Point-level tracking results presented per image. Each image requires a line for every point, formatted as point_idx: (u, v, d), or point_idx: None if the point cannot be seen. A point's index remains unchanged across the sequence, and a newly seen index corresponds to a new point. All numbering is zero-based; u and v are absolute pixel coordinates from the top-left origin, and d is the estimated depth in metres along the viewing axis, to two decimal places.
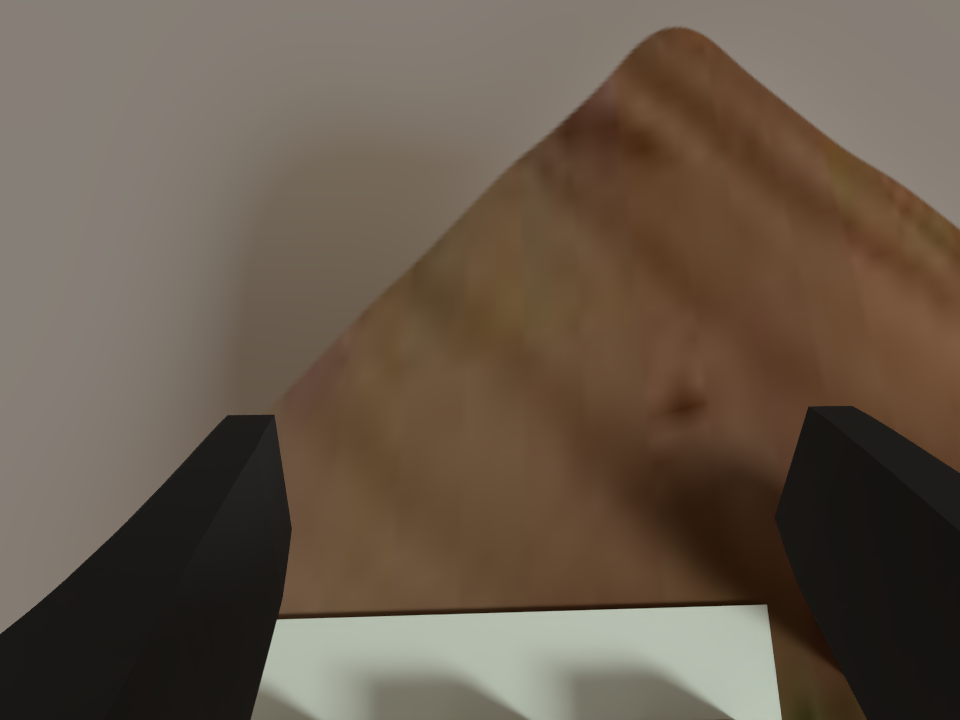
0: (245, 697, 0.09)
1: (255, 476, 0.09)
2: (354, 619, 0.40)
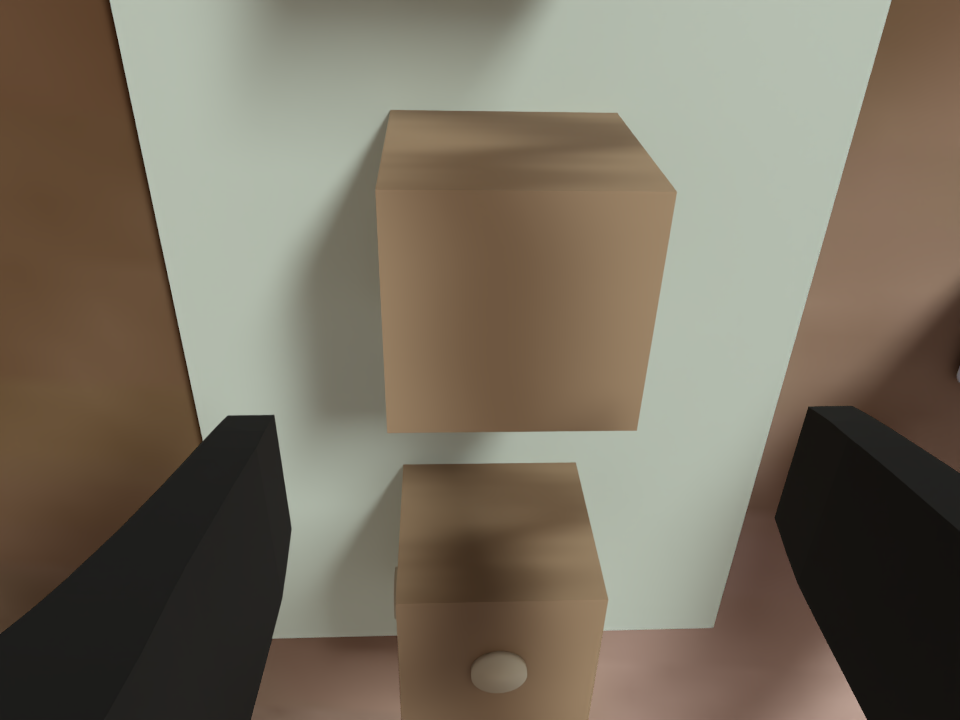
0: (245, 697, 0.09)
1: (255, 476, 0.09)
2: None
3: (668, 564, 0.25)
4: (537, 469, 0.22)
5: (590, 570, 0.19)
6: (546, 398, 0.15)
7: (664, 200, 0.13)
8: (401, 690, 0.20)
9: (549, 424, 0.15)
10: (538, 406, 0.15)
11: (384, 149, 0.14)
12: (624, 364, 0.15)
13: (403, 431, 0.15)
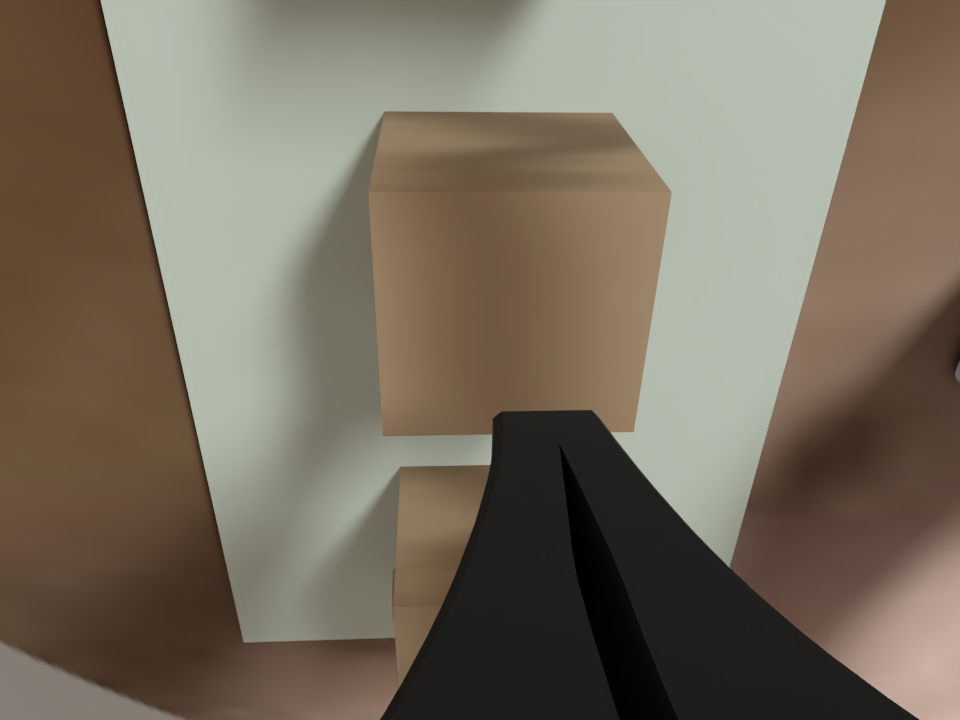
0: None
1: None
2: (205, 453, 0.21)
3: None
4: None
5: None
6: (542, 400, 0.15)
7: (659, 201, 0.13)
8: None
9: None
10: (535, 407, 0.15)
11: (378, 151, 0.14)
12: (620, 365, 0.15)
13: (399, 434, 0.15)
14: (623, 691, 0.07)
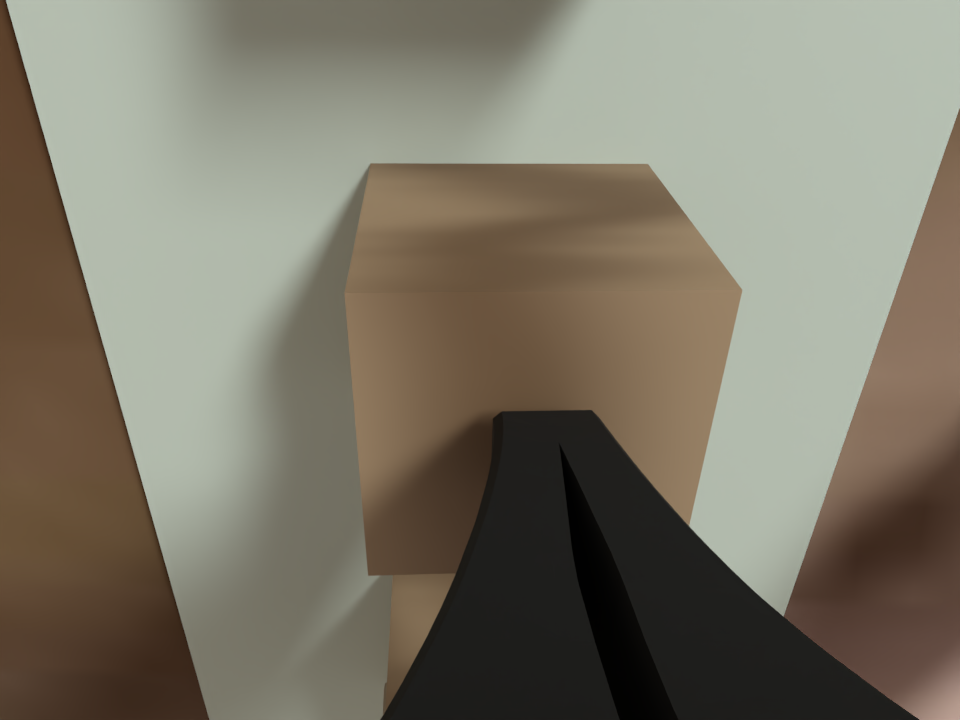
0: None
1: None
2: (165, 548, 0.18)
3: None
4: None
5: None
6: None
7: (725, 300, 0.10)
8: None
9: None
10: None
11: (360, 225, 0.11)
12: (666, 493, 0.12)
13: (388, 573, 0.12)
14: (623, 691, 0.07)
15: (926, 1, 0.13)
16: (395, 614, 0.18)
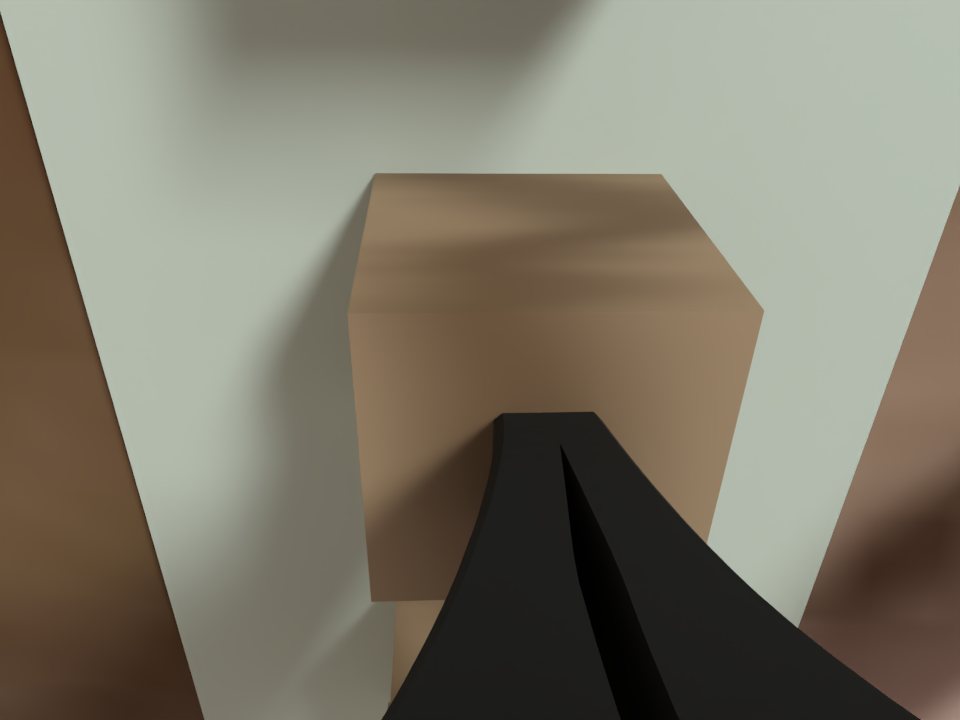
0: None
1: None
2: (164, 564, 0.18)
3: None
4: None
5: None
6: None
7: (746, 321, 0.09)
8: None
9: None
10: None
11: (364, 240, 0.11)
12: None
13: (392, 599, 0.12)
14: (624, 691, 0.07)
15: (952, 6, 0.12)
16: (399, 633, 0.17)
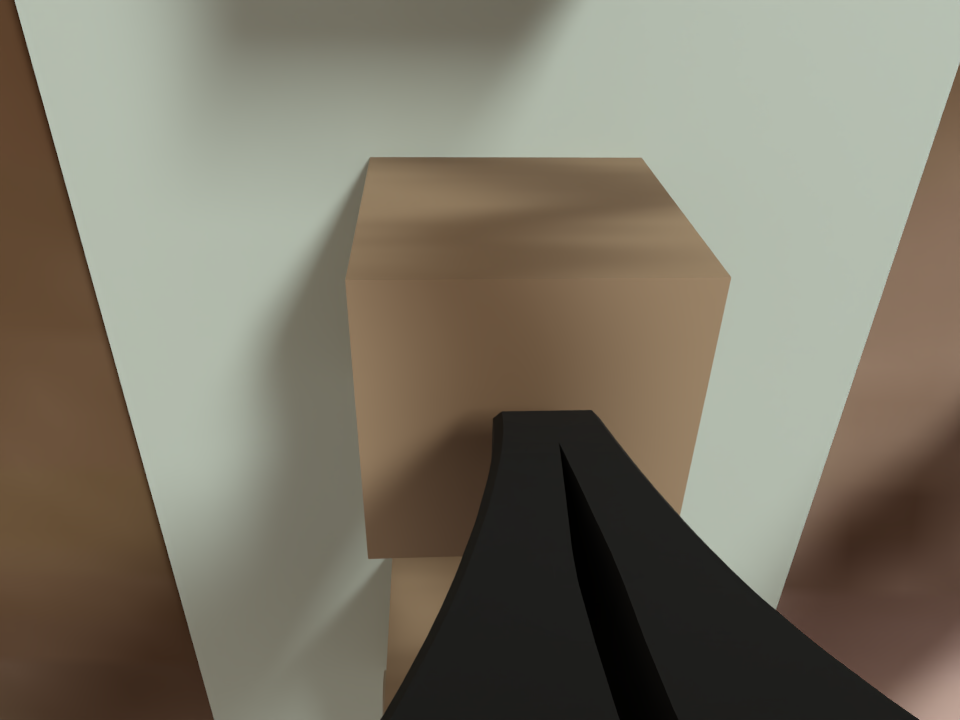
0: None
1: None
2: (168, 538, 0.19)
3: None
4: None
5: None
6: None
7: (714, 287, 0.10)
8: None
9: None
10: None
11: (360, 216, 0.12)
12: (659, 477, 0.12)
13: (388, 556, 0.12)
14: (623, 691, 0.07)
15: None
16: (394, 602, 0.18)
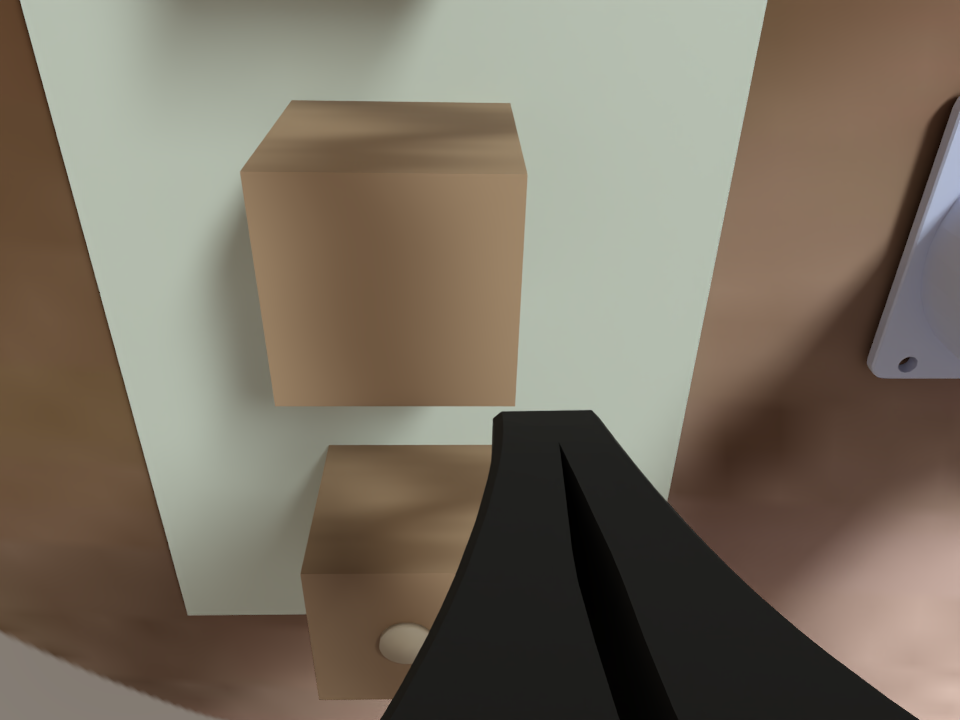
0: None
1: None
2: (140, 428, 0.22)
3: None
4: (458, 451, 0.23)
5: None
6: (424, 374, 0.16)
7: (516, 182, 0.14)
8: (314, 660, 0.20)
9: (430, 399, 0.16)
10: (417, 380, 0.16)
11: (267, 135, 0.15)
12: (495, 341, 0.15)
13: (290, 404, 0.16)
14: (623, 691, 0.07)
15: None
16: (324, 482, 0.21)
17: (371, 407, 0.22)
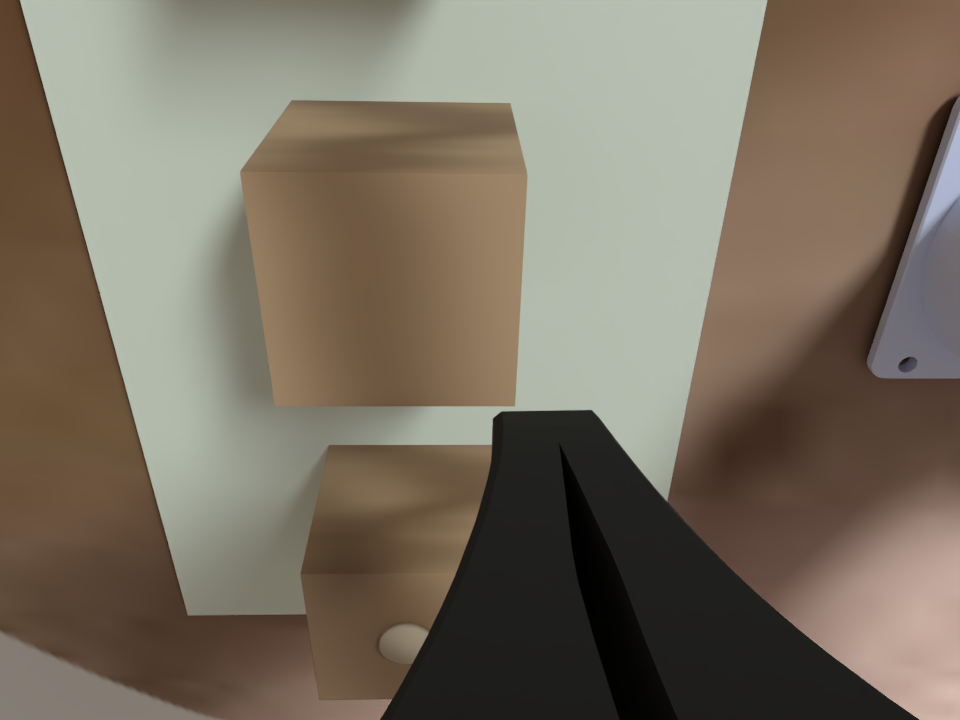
0: None
1: None
2: (140, 428, 0.22)
3: None
4: (458, 451, 0.23)
5: None
6: (424, 374, 0.16)
7: (516, 182, 0.14)
8: (314, 660, 0.20)
9: (430, 399, 0.16)
10: (417, 380, 0.16)
11: (267, 135, 0.15)
12: (495, 341, 0.15)
13: (290, 404, 0.16)
14: (623, 691, 0.07)
15: None
16: (324, 482, 0.21)
17: (371, 407, 0.22)
